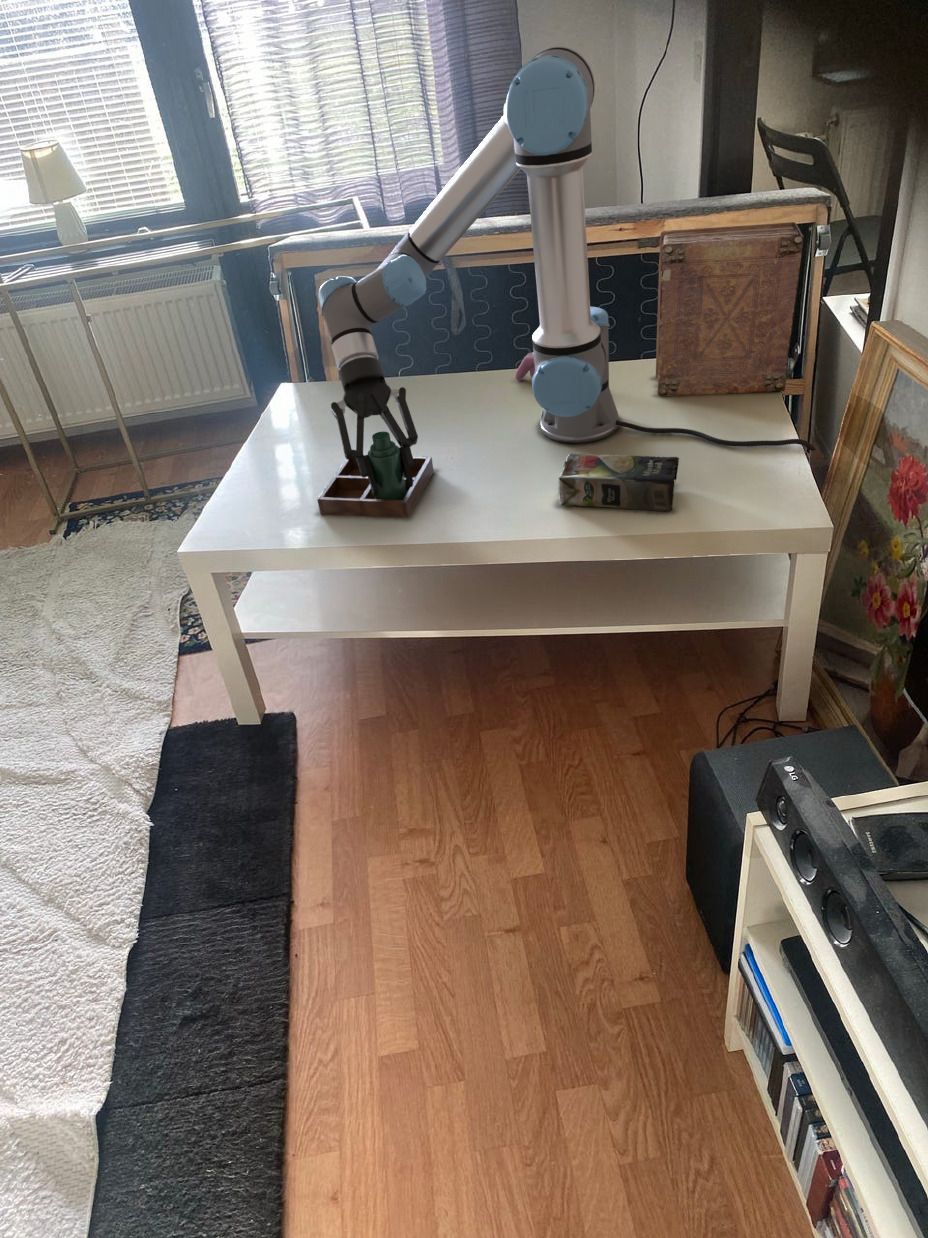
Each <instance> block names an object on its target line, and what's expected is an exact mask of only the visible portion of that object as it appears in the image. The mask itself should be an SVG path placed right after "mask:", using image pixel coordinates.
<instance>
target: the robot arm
mask: <svg viewBox="0 0 928 1238" xmlns="http://www.w3.org/2000/svg"><path fill="white" fill-rule="evenodd" d="M595 88H596V87H595V78H594V74H593V70H592V68H591V66H590V65H589V63H588V61H587V60H586V59H585V57H584V56H583V55H582V54H580V53H579V52H577V51H576V50H574V49H572V48H568V47H565V46H554V47H553V46H552V47H549V48H546V49H544V50H542V51H540V52H539V53H537V54H536V55H534V57H532V59H530V60H529V61H527V63H525V64H524V65H523V66H522V67H520V69H519V70H518V71H517V73H515V76H514V77H513V78H512V81H511V82H510V85H509V88H508V91H507V94H506V100H505V103H504V104H503V116H501V118H500V120H498V122H497V123H496V124H495V125H494V127H493V128H492V129H491V130H490V131H489V133H488V134H487V135H486V136H485V138H484V139H483V140H482V141H481V142H480V143H479V145H478V146H477V148H476V149H475V150H474V151H473V152H472V154H471V155H470V156H469V157H468V158H467V160H466V161H465V162H463V164H462V165H461V167H460V168H459V169H458V171H456V173H455V174H454V175H453V177H452V178H451V179H450V180H449V181H448V183H447V184H446V185H445V186H444V187H443V189H442V190H441V191H440V192H439V194H438V195H437V196H436V197H435V198H434V200H433V201H432V202H431V203H430V204H429V205H428V207H427V208H426V210H424V211H423V213H422V214H421V216H420V217H419V218H418V219H417V220H416V221H415V223H413V225H412V226H411V228H410V229H409V230H408V232H407V233H406V234H405V235H404V236H403V237H402V239H401V240H400V241H399V242H398V243H397V244H396V245H394V247H393V249H392V250H391V251H390V253H389V254H388V256H386V258H385V259H384V260H383V261H382V262H381V264H380V265H379V266H378V267H377V268H376V269H375V270H373V271H372V272H371V273H368V274H367V275H365V276H364V277H362V278H361V279H359V280H356V279H354V278H353V277H351V276H348V275H347V276H346V275H341V276H337V277H335V278H329V279H328V280H326V281H325V282H323V283H322V285H321V286H320V288H319V289H318V300H319V305H320V313H321V316H322V318H323V320H324V325H325V327H326V330H327V334H328V337H329V341H330V345H331V349H332V353H333V356H334V357H333V358H334V361H335V364H336V368H337V369H338V375H339V379H340V382H341V386H342V391H343V397H342V398H343V399H341V400H339V401H333V402H332V403H330V411H331V414H332V415H333V416H334V418H335V420H336V422H337V428H338V431H339V434H340V435H339V436H340V440H341V444H342V449H343V454H344V457H345V460H346V459H348V460H350V459H355V460H356V461H357V462H358V466H359V469H360V473H361V476H362V477H368V478H369V482H370V486H371V489H372V493H373V496H374V495H377V494H378V489H377V485H376V482H375V478H374V474H373V471H372V467H371V464H370V460H369V456H368V454H364V440H365V439H364V438H365V437H364V435H365V434H364V433H365V419H368V418H369V417H371V416H379V417H380V418H381V420H383V421H384V423H385V425H386V426H387V428H388V429H389V431H390V433H391V435H392V436H393V437H394V439H395V441H396V442H397V444H398V445H399V446H398V447H399V448H400V453H401V459H402V465H403V470H404V474H405V478H406V481H407V485H408V487H412V486H413V478H412V475H411V471H410V468H409V467H411V466H413V462H414V460H413V457H414V456H413V454H412V450H411V447H413V446H415V445H416V444H417V443H418V440H419V439H418V438H419V435H418V433H417V429H416V427H415V423H414V420H413V418H412V415H411V411H410V409H409V406H408V403H407V399H406V398H407V389H406V388H405V387H403V386H402V387H400V388H399V389H398V388H397V389H396V388H391V387H390V385H389V384H388V383H387V382H386V379H385V375H384V371H383V368H382V364H381V361H380V360H379V354H378V351H377V347H376V343H375V340H374V336H373V333H372V325H374V324H377V323H379V322H380V321H381V320H383V319H385V318H387V317H389V316H391V315H393V314H395V313H396V312H399V310H402V309H404V308H406V307H407V306H411V305H413V304H414V302H415V301H418V300H419V299H420V298H422V297H423V296H424V295H425V294H426V292H427V277H428V276H429V275H430V274H431V273H432V271H433V270H434V269H435V268H436V267H437V266H438V265H439V263H440V262H441V260H443V258H444V257H445V256H446V255H447V254H448V253H449V251H450V250H451V249H452V248H453V247H454V246H455V245H456V243H458V241H459V240H460V239H461V238H462V237H463V236H464V235H465V233H466V232H467V231H468V230H469V229H470V228H471V226H472V225H473V224H474V223H475V222H476V221H477V220H478V219H479V218H480V216H482V214H483V212H485V211H486V210H487V208H488V207H489V206H490V205H491V204H492V203H493V202H494V201H495V199H496V198H497V197H498V196H499V195H500V194H501V192H502V191H503V190H504V189H505V188H506V187H507V186H508V185H509V183H510V182H511V181H512V180H513V179H514V178H515V176H516V175H517V174H518V173H519V172H520V171H521V170H522V171H523V172H524V173H525V174H526V179H527V180H526V181H527V191H528V202H529V211H530V212H529V214H530V225H531V226H530V227H531V236H532V237H531V238H532V248H533V249H532V250H533V259H534V271H535V283H536V284H535V285H536V294H537V305H538V306H537V307H538V317H539V326H538V327H537V329H536V330H535V331H534V332H533V334H532V337H531V338H532V339H531V340H532V350H533V351H532V352H534V362H535V372H534V375H533V377H531V378H532V379H531V387H532V394H533V397H534V399H535V402H537V404H538V406H540V407H541V414H540V430H541V432H542V434H543V435H544V436H545V437H547V438H549V439H551V440H553V441H555V442H559V443H566V444H585V443H591V442H592V443H593V442H596V441H600V440H602V439H605V438H607V437H610V436H611V435H612V434H614V433H615V432H616V431H617V430H618V428H619V427H623V428H627V429H631V430H634V431H638V432H642V433H649V434H683V435H689V436H694V437H697V438H700V439H703V440H705V441H708V442H710V443H713V444H716V445H721V446H728V447H761V446H763V447H764V446H765V447H767V446H769V447H771V446H772V447H777V446H778V447H779V446H788V445H799V446H803V447H805V448H807V449H808V450H809V451H812V452H814V451H816V450H817V449H816V447H815V446H814V445H813V444H812V443H810V441H807V440H804V439H802V438H801V439H800V438H786V439H779V440H744V441H743V440H742V441H741V440H740V441H739V440H726V439H722V438H717V437H715V436H711V435H709V434H706V433H704V432H700V431H698V430H695V429H689V428H681V427H660V428H659V427H647V426H641V425H637V424H634V423H631V422H627V421H622V420H619V419H620V418H619V412H618V409H617V406H616V403H615V400H614V397H613V395H612V392H611V389H610V366H609V365H610V364H609V363H610V362H609V361H610V358H609V355H610V354H609V353H610V352H609V351H610V349H609V347H610V346H609V342H610V341H609V338H610V337H609V328H610V326H611V325H610V322H609V314H608V312H607V311H606V310H605V309H603V308H600V307H597V306H591V297H590V296H591V295H590V279H589V278H590V276H589V258H588V241H587V239H588V238H587V222H586V204H585V186H584V185H585V183H584V165H585V164H586V163H587V161H588V160H589V158H591V156H592V154H593V145H592V144H593V142H592V121H591V118H592V117H591V108H592V105H593V103H594V99H595V91H596V90H595ZM390 397H391V398H392V399H393V401H394V402H395V403H397V405H398V410H399V413H400V416H401V419H402V422H403V425H404V428H405V431H406V434H407V436H406V434H405V433H404V431H403V430H402V428H401V427H400V425H399V423H398V422H397V420H396V419H395V417H394V415H393V414H392V413H391V409H390V408H389V406H388V403H389V400H390ZM346 407H347V408H348V409H350V410H351V411H352V412H353V413H354V414H356V439H355V440H356V441H355V444H356V445H355V449H352V445H351V441H350V437H349V432H348V428H347V423H346V418H345V413H346Z"/></svg>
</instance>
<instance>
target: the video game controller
mask: <svg viewBox="0 0 928 1238" xmlns="http://www.w3.org/2000/svg"><path fill="white" fill-rule="evenodd" d="M534 372H535V362H534V351H532V352H528V353H527V354H526V355H525V356H524V357H523V358H522V361H521V363H520V365H519V366H518V368H517V369H516V372H515V380H516V381H521V380H523V379H524V377H525V376H526V375H527V374H528V373H529V375H530V377H531V378H532V377H533V375H534Z"/></svg>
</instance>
